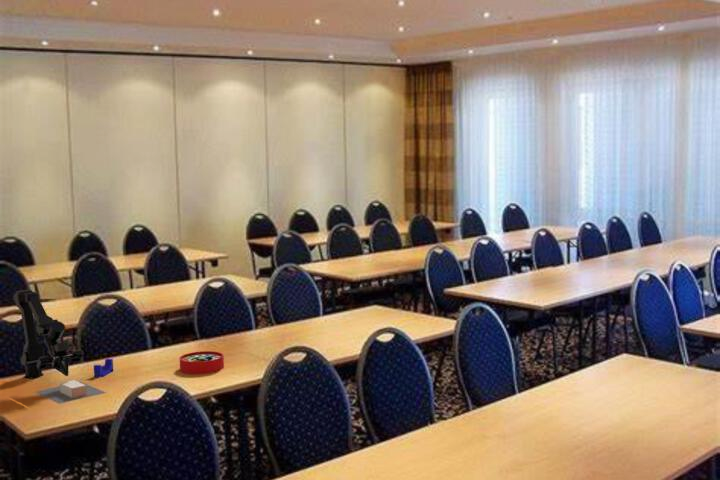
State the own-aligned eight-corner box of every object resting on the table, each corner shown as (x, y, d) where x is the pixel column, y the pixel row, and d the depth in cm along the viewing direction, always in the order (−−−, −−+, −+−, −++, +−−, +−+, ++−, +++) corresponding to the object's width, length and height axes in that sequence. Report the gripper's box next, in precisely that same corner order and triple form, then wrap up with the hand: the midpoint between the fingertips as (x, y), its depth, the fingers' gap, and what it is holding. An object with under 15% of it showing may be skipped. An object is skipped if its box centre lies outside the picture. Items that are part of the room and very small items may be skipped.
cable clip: (104, 371, 376) (103, 358, 376) (113, 371, 375) (112, 358, 375) (91, 378, 364) (90, 365, 364) (100, 378, 364) (99, 365, 363)
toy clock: (170, 357, 375) (205, 349, 390) (171, 370, 376) (206, 361, 391) (197, 364, 362) (232, 355, 377) (197, 377, 363) (232, 367, 377)
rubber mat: (35, 393, 343) (34, 391, 343) (80, 383, 357) (80, 381, 357) (59, 405, 326) (59, 403, 326) (106, 393, 340) (106, 392, 340)
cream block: (59, 383, 341) (72, 388, 332) (73, 380, 345) (86, 385, 337) (60, 392, 341) (73, 398, 333) (74, 389, 346) (87, 394, 337)
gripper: (37, 338, 338) (50, 369, 331) (80, 330, 351) (93, 360, 344) (31, 354, 345) (43, 384, 338) (73, 346, 357) (86, 375, 351)
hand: (67, 375), depth 342 cm, fingers closed
